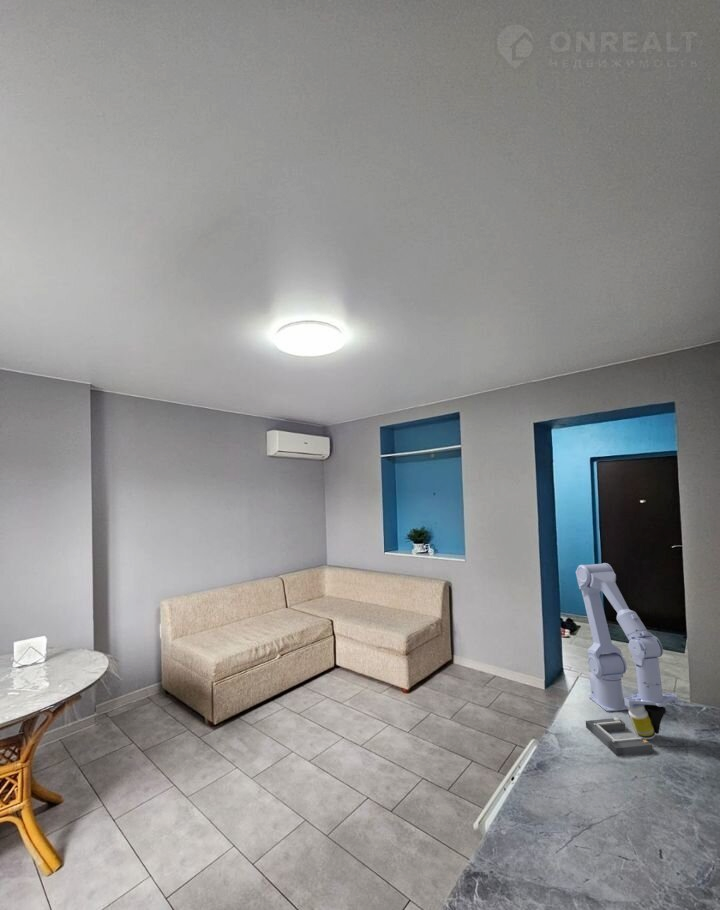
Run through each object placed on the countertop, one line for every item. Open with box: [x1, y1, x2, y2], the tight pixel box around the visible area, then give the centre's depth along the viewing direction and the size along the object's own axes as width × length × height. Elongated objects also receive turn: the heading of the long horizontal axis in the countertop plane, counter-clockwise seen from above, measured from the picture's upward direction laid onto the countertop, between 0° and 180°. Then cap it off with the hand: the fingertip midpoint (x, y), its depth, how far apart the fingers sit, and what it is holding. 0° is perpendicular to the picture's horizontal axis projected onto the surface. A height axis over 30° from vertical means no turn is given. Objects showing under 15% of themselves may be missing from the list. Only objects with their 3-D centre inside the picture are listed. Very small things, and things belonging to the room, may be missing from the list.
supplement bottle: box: [628, 704, 656, 740], centre depth 115 cm, size 5×5×8 cm
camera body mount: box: [585, 716, 654, 756], centre depth 114 cm, size 13×10×2 cm
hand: (654, 731), depth 115 cm, fingers closed, pressing on supplement bottle
